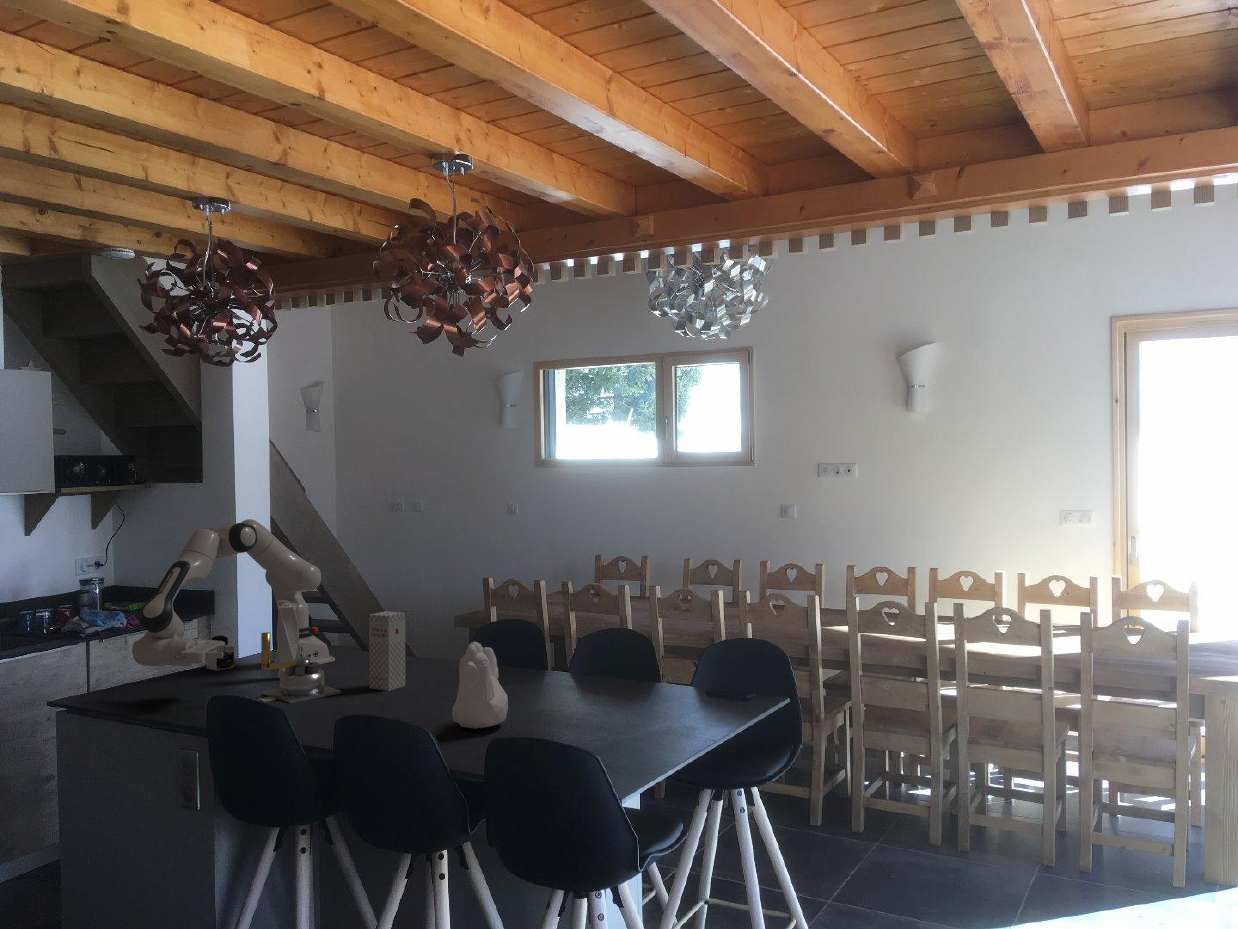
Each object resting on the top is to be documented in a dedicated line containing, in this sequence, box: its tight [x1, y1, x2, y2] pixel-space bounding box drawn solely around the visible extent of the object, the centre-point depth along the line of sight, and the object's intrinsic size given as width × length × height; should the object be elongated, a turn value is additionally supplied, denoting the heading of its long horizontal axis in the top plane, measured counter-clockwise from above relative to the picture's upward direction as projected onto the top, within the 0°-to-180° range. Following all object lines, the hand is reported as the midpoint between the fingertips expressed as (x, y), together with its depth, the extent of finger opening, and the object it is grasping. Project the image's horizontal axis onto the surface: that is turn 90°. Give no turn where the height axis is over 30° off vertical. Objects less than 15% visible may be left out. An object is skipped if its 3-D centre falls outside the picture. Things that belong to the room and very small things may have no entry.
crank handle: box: [260, 631, 320, 675], centre depth 322 cm, size 18×10×14 cm, turn 131°
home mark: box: [258, 696, 277, 703], centre depth 316 cm, size 4×4×1 cm
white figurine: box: [451, 641, 509, 729], centre depth 286 cm, size 25×16×25 cm, turn 159°
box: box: [368, 610, 406, 692], centre depth 334 cm, size 8×8×25 cm
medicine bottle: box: [206, 635, 235, 672], centre depth 366 cm, size 7×7×12 cm
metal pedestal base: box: [262, 668, 342, 704], centre depth 324 cm, size 18×18×7 cm
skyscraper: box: [276, 600, 304, 680], centre depth 349 cm, size 8×8×28 cm
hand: (228, 652), depth 316 cm, fingers open, 8 cm apart
